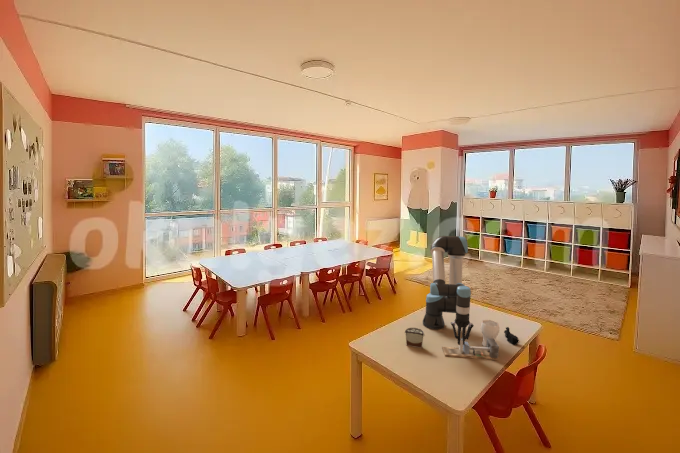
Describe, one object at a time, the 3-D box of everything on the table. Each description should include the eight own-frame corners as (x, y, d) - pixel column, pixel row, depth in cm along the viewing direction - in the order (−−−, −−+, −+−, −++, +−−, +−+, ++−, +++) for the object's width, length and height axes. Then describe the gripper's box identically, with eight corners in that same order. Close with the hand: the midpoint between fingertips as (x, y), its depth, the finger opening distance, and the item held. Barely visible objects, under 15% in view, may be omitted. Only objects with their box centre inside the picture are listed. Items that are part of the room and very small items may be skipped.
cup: (499, 351, 196) (500, 328, 194) (480, 348, 199) (481, 325, 197) (497, 343, 206) (498, 320, 203) (479, 340, 209) (480, 318, 207)
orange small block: (481, 355, 188) (481, 353, 188) (480, 354, 190) (480, 352, 190) (483, 355, 188) (483, 354, 188) (482, 354, 190) (482, 352, 190)
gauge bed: (444, 356, 191) (445, 343, 189) (442, 348, 199) (442, 335, 198) (498, 359, 187) (499, 346, 185) (492, 351, 196) (493, 338, 194)
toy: (519, 346, 202) (520, 336, 201) (511, 345, 202) (511, 335, 201) (508, 334, 217) (508, 325, 216) (500, 334, 217) (501, 325, 217)
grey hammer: (465, 355, 189) (466, 347, 188) (462, 349, 196) (463, 341, 195) (500, 357, 187) (500, 349, 186) (496, 351, 193) (496, 343, 192)
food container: (424, 343, 205) (425, 328, 204) (424, 348, 200) (424, 333, 198) (405, 340, 209) (405, 326, 208) (404, 345, 204) (404, 330, 202)
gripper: (452, 314, 187) (450, 352, 190) (476, 315, 185) (473, 353, 189) (450, 309, 194) (448, 345, 198) (472, 310, 193) (470, 347, 196)
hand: (460, 349), depth 193 cm, fingers closed
